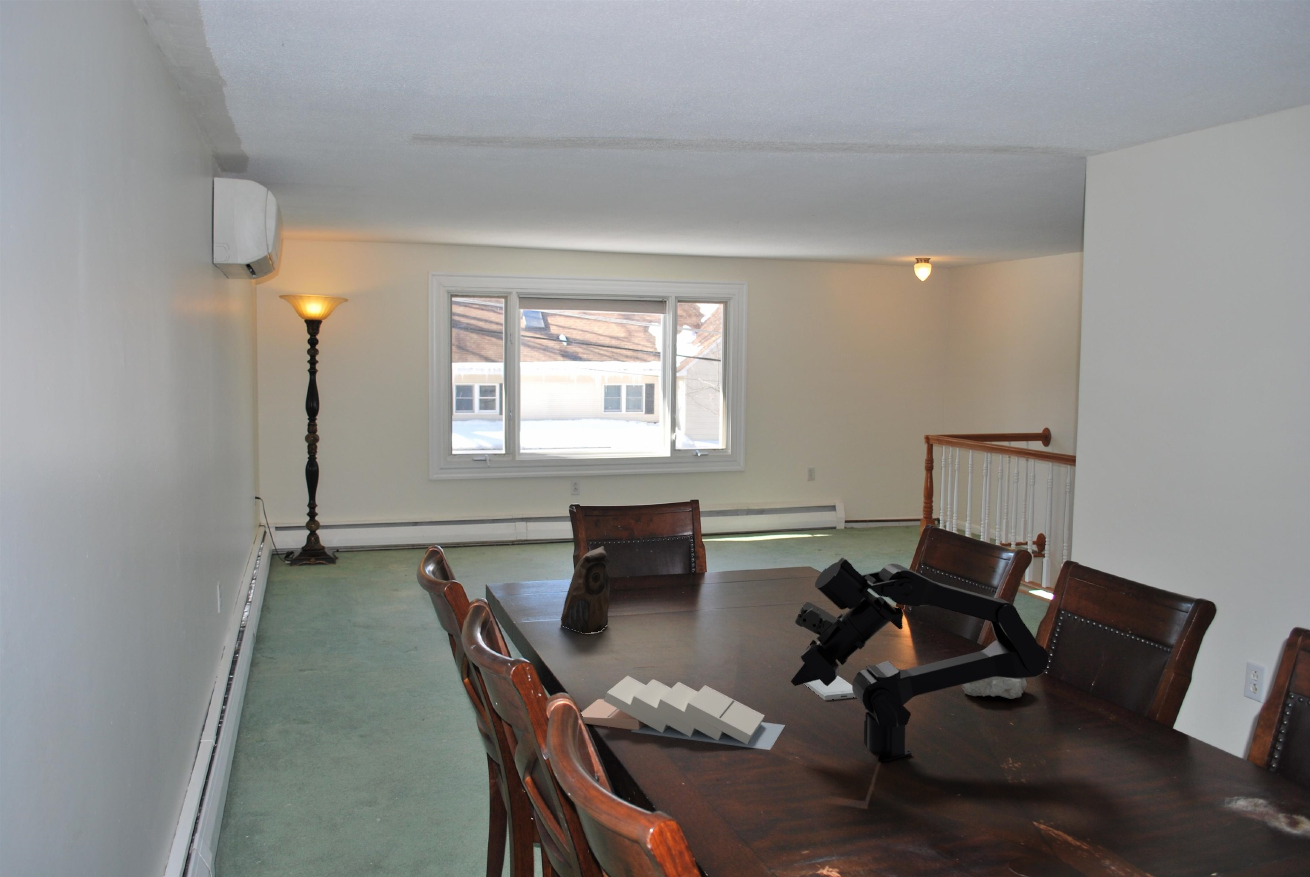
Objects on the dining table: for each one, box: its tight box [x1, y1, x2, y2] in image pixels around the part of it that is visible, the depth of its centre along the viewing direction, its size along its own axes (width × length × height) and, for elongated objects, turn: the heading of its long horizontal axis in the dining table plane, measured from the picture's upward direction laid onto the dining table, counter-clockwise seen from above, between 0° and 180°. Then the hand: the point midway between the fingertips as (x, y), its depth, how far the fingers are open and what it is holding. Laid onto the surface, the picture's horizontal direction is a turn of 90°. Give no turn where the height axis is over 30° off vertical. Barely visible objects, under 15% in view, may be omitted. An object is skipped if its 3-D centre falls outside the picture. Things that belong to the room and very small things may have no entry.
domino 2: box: [603, 675, 669, 733], centre depth 173 cm, size 2×10×12 cm
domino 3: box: [630, 679, 697, 737], centre depth 171 cm, size 2×10×12 cm
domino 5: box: [685, 684, 765, 744], centre depth 168 cm, size 2×10×12 cm
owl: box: [560, 545, 611, 633], centre depth 239 cm, size 13×13×20 cm
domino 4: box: [657, 681, 724, 740], centre depth 170 cm, size 2×10×12 cm
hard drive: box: [803, 675, 857, 701], centre depth 193 cm, size 2×8×12 cm
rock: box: [960, 677, 1028, 700], centre depth 189 cm, size 14×9×10 cm
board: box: [631, 721, 786, 751], centre depth 169 cm, size 25×12×1 cm, turn 70°
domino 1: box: [580, 698, 645, 730], centre depth 175 cm, size 2×10×12 cm
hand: (792, 683), depth 163 cm, fingers closed
